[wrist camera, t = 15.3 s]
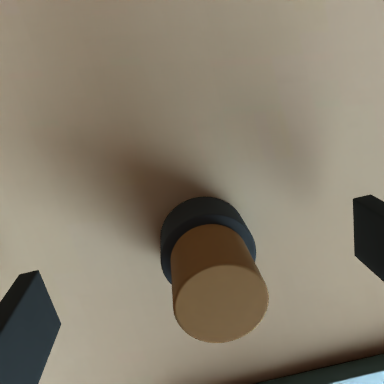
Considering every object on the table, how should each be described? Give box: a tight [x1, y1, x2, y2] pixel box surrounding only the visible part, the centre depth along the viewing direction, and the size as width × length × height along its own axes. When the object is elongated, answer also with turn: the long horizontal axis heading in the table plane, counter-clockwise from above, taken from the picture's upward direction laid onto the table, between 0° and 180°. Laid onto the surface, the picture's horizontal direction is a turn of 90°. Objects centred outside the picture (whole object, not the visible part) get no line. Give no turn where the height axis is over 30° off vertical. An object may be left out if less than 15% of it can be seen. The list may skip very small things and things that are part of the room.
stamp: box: [160, 197, 269, 343], centre depth 13 cm, size 4×4×5 cm
